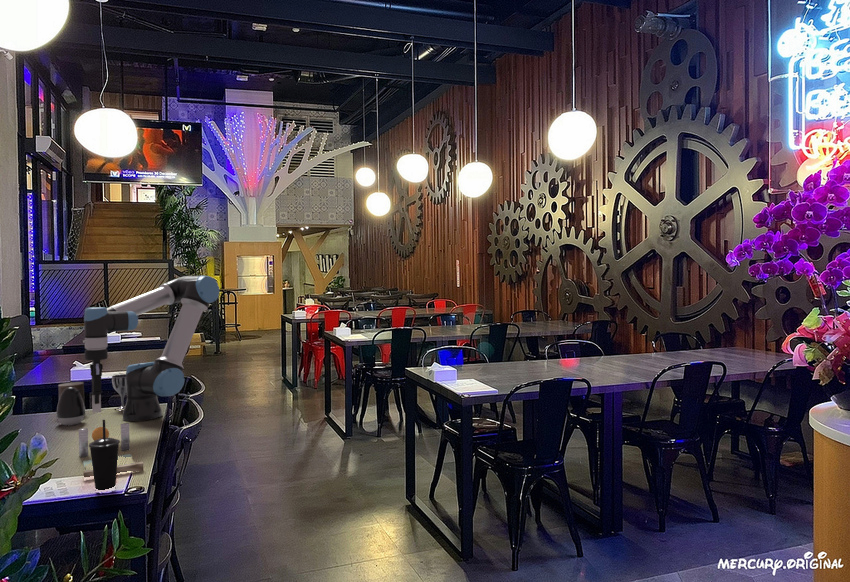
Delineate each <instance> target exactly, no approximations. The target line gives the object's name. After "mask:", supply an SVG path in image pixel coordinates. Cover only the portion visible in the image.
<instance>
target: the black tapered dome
mask: <svg viewBox="0 0 850 582" xmlns="http://www.w3.org/2000/svg"><path fill="white" fill-rule="evenodd" d="M79 392H81V390H80V389H79V390H77V389H76V388H75V387H67V388H66V389H64V391H63V392H62V394H61V396H60V399H59V398H58V403H57V407H56V418H57V420H58V422H59V424H61V425H62V426H67V425H68V426H74V425H78V424H80V423H81V422H82V421H83V420H84V418H85V415H86V406H85V407H84V403H85V402H84V403H83V400H82V397H81V395H80V393H79Z"/></svg>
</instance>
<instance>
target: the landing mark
mask: <svg viewBox="0 0 850 582" xmlns="http://www.w3.org/2000/svg"><path fill="white" fill-rule="evenodd" d="M121 455H122V456H123V457H125V458H126V457H131V456H132V454H131V453H127V454H121ZM121 455H118V456H119V457H120V456H121ZM122 456H121V457H122ZM82 463H83V467H85V465H86V464H87V465H88V464H90V463H92V459H88V460H83V461H82ZM87 465H86V466H87Z"/></svg>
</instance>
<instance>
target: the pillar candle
mask: <svg viewBox="0 0 850 582" xmlns="http://www.w3.org/2000/svg"><path fill="white" fill-rule="evenodd" d="M84 384H85V382H83V381H75V382H74V381H73V382H72V380H70V382H66V383H59V384H58V385H57V387H58V400H59V399H60V396H61V394H62V392H63V391H64V389H66V388H67V387H75V388H76V389H77V390H79V389H80V390H81V392H79V393H80V395H81V397H82V400H83V403H84V407H85V408H86V406H85V404H86V402H85V385H84Z"/></svg>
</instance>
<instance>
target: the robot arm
mask: <svg viewBox="0 0 850 582" xmlns="http://www.w3.org/2000/svg"><path fill="white" fill-rule="evenodd" d="M219 296H220V287H219V284H218V281H216V279H215V277H212V276H209V275H204V274H201V275H183V276H180V277H176V278H175V279H172V280H169V281H166V282H165V283H162V284H160V285H159V286H158V288H155V289H153V290H150V291H147V292H145V293H142V294H140V295H137V296H135V297H132V298H129V299H127V300H125V301H122V302H119V303H116V304H114V305H111V306H110V307H107V308H106V307H97V306H95V307H87V308H85V309H84V315H83V316H84V317H83V323H84V324H83V325H84V328H83V329H84V340H82V343H83V344H84V349H85V350H84V360H85V361H91V364H89V369H90V376H91V393H90V396H92V397H91V398H92V399H91V401H92V402H91V404H92V405H91V407H92V413H93V414H95V413H101V412H102V401H101V400H102V395H101V394H103V391H102V376H103V369H104V366H103V363H101V361H102V360H107V359H108V356H109V355H108V349H107V348H108V347H109V346H108V339H109V338H108V333H110V332H111V333H112V332H128V331H133V330H136V329H137V328H138V326H139V317H138V316H140V315H142V314H145V313H147V312H149V311H152V310H155V309H157V308H158V309H159V308H161V307H162V306H165V305H169V306H171V305H174V304H176V303H181V304H182V306H181V307H180V308H181V309H180V311H179V313H178V316H177V318H176V319H175V322H174V325H173V328H172V330H171V332H170V334H169V338H168V340H167V342H166V343H165V345H164V346H165V347H164V349H163V352H162V354H161V356H160V357H158V358H155V361H149V362H140V363H134V364H129V365H128V366H126V371H125V372H126V373H125V374H126V383H127V392H126V402H125V404H124V406H125V408H124V410H122V411H123V412H122V420H123V421H127V422H144V421H151V420H154V419H155V420H156V419H159V418H160V417H162V416H163V410H162V406H161V404H160V402H159V399H158V396H159V397H172V396H175V395H176V394H178V393H180V391H181V390H182V388H183V387H184V384H185V380H186V379H185V374H184V372H183V371H184V369H185V367H184V365H183V362H184V359H185V356H186V354H187V351H188V350H189V346H190V344H191V342H192V339H193V336H194V334H195V332H196V328H197V326H198V324H199V322H200V320H201V317H202V314H203V313H204V312H206V311H207V310H208V308H209V306H210V304H211V303H214V302H216V301H217V299H219ZM158 417H159V418H158ZM143 420H144V421H143Z"/></svg>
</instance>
